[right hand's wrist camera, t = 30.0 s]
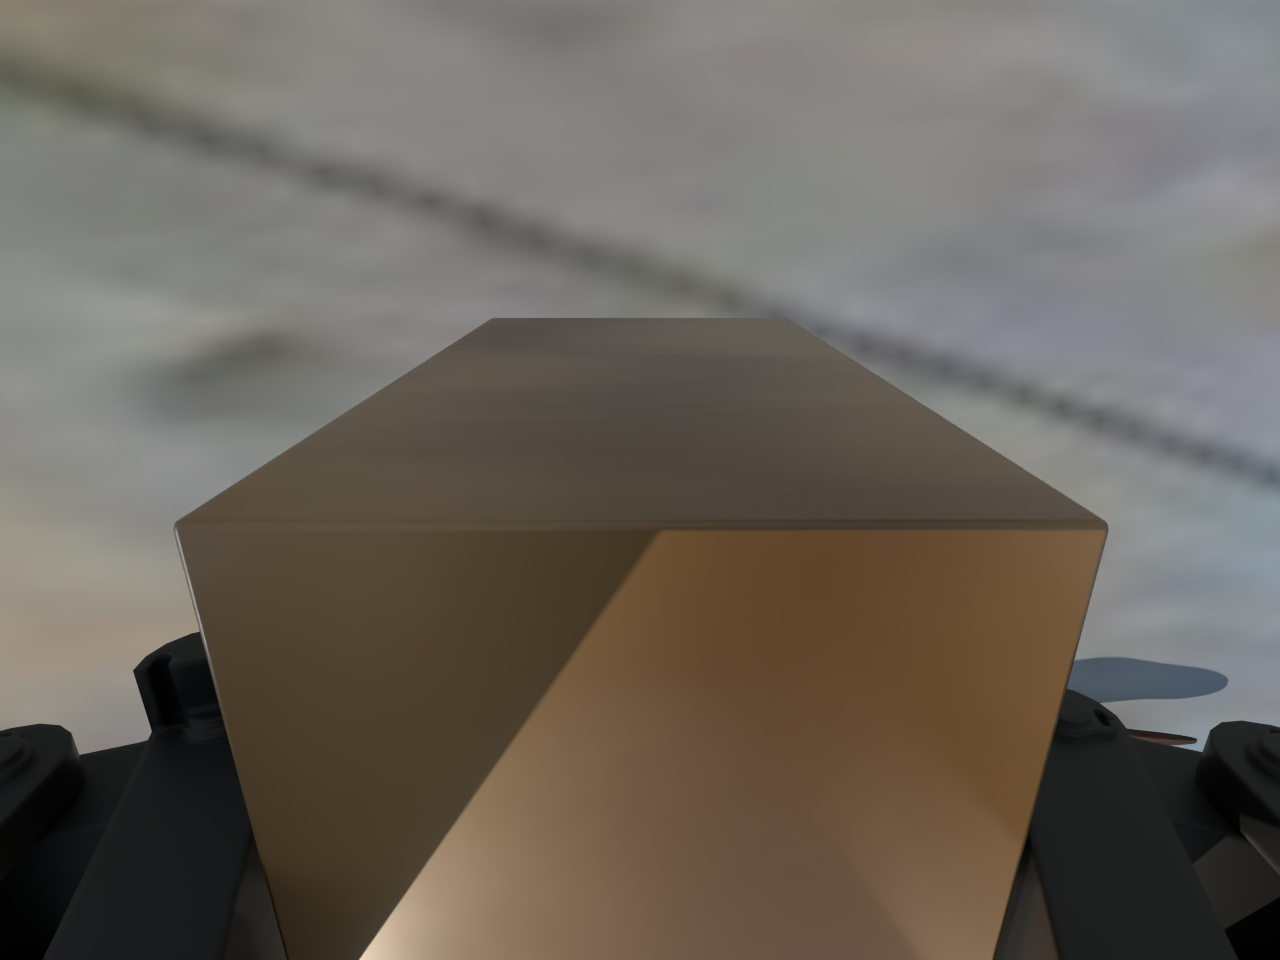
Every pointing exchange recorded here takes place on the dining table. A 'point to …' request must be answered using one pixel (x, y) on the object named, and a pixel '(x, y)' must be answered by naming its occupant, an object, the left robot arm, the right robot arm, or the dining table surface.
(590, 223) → the dining table surface
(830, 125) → the dining table surface
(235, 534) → the wooden block
